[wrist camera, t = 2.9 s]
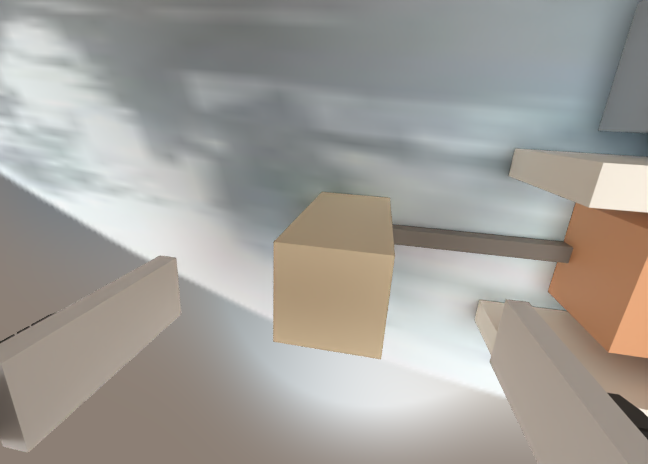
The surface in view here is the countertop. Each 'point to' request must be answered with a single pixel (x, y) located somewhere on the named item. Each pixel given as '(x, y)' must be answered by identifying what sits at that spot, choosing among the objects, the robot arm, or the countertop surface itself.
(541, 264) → the countertop surface
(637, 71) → the slate block
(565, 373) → the robot arm
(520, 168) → the shelf lanes
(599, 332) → the corded block
